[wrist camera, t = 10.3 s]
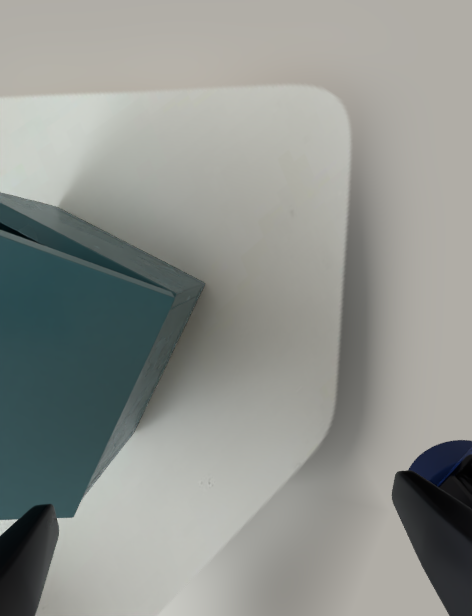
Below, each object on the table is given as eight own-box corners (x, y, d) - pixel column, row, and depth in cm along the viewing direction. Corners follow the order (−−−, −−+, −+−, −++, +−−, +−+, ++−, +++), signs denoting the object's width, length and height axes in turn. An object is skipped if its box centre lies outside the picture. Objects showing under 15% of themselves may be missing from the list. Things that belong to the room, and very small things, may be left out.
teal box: (-1, 362, 22) (-108, 402, 16) (56, 206, 20) (-41, 181, 13) (133, 433, 22) (79, 503, 15) (206, 283, 19) (176, 293, 13)
